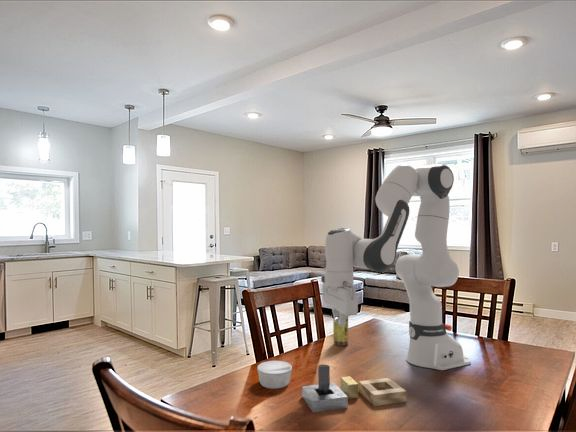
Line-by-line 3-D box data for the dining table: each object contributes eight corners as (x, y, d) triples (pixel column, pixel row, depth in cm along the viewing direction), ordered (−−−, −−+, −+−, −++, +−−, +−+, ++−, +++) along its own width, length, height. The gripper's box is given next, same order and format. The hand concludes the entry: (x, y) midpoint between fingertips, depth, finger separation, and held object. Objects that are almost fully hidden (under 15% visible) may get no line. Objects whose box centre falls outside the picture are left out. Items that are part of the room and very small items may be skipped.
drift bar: (349, 389, 119) (349, 376, 119) (358, 397, 113) (358, 383, 113) (340, 390, 118) (340, 377, 118) (348, 398, 112) (348, 384, 113)
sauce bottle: (348, 347, 161) (347, 298, 161) (332, 346, 162) (332, 298, 162) (348, 342, 167) (348, 295, 168) (334, 341, 168) (333, 295, 169)
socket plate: (334, 392, 117) (334, 382, 117) (347, 407, 107) (347, 396, 107) (302, 396, 114) (302, 386, 114) (313, 412, 104) (312, 401, 105)
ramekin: (279, 393, 117) (279, 375, 117) (249, 385, 123) (249, 368, 123) (298, 380, 126) (298, 364, 126) (270, 374, 132) (270, 358, 132)
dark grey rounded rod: (327, 399, 113) (327, 364, 113) (331, 403, 109) (331, 367, 110) (317, 400, 112) (316, 365, 112) (320, 405, 109) (320, 368, 109)
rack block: (388, 387, 120) (388, 377, 120) (406, 401, 111) (406, 390, 111) (358, 391, 118) (358, 381, 118) (374, 405, 108) (374, 395, 108)
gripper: (363, 284, 114) (363, 331, 114) (336, 275, 134) (336, 316, 134) (342, 284, 113) (343, 333, 112) (319, 276, 132) (319, 317, 132)
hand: (339, 323), depth 123 cm, fingers open, 3 cm apart
